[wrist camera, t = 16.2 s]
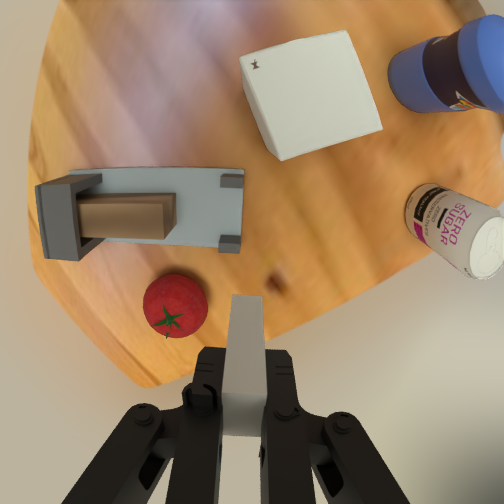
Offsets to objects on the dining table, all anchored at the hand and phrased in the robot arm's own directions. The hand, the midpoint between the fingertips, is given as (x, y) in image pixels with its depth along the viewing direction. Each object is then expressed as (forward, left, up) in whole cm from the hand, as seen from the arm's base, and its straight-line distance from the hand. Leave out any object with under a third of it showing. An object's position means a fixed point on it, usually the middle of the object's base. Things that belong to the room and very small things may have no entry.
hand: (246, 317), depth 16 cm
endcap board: (0, -13, -24) cm, 27 cm away
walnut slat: (0, -16, -23) cm, 28 cm away
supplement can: (-2, +25, -24) cm, 35 cm away
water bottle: (-20, +21, -24) cm, 38 cm away
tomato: (+13, -9, -24) cm, 29 cm away
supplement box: (-13, +4, -24) cm, 28 cm away
